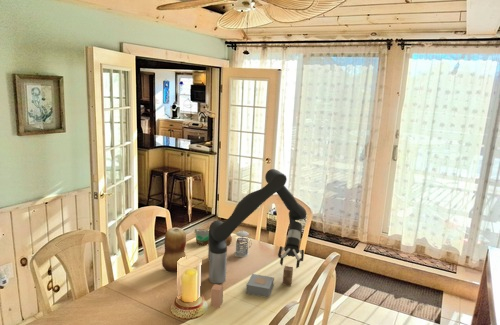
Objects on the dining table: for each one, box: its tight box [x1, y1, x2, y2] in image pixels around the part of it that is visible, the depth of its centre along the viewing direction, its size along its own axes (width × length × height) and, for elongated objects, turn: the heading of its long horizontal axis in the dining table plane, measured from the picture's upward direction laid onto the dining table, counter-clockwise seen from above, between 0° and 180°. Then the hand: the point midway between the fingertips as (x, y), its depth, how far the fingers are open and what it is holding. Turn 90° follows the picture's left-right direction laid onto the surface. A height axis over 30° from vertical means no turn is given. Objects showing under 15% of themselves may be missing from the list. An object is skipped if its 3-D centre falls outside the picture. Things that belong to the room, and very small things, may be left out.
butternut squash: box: [161, 227, 187, 273], centre depth 202 cm, size 14×13×25 cm
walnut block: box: [282, 265, 294, 287], centre depth 195 cm, size 4×4×9 cm
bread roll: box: [226, 234, 233, 245], centre depth 246 cm, size 10×15×8 cm, turn 36°
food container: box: [193, 227, 209, 246], centre depth 240 cm, size 12×6×10 cm, turn 81°
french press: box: [233, 230, 252, 258], centre depth 226 cm, size 10×12×25 cm
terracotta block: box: [210, 283, 224, 308], centre depth 173 cm, size 4×4×9 cm
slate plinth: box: [245, 273, 275, 298], centre depth 188 cm, size 12×12×5 cm
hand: (289, 266), depth 197 cm, fingers open, 8 cm apart
